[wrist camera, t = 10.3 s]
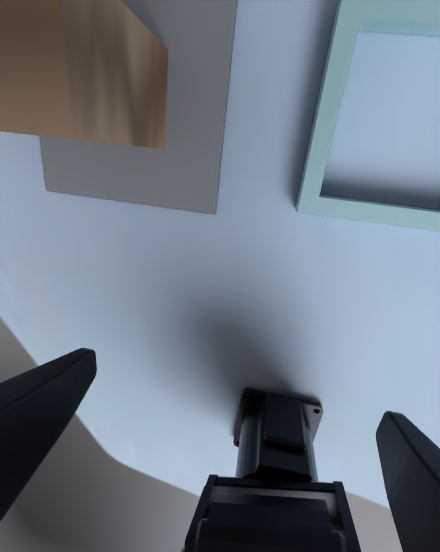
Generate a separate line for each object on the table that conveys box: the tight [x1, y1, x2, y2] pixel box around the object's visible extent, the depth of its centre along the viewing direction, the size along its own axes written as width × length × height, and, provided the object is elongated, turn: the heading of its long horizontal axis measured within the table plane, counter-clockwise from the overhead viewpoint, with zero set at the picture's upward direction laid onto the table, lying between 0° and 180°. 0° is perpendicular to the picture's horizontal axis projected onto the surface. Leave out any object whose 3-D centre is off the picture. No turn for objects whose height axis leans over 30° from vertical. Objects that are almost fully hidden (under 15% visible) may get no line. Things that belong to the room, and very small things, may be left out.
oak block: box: [0, 0, 168, 149], centre depth 13 cm, size 5×5×9 cm
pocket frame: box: [295, 0, 440, 232], centre depth 15 cm, size 10×10×2 cm
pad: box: [40, 0, 237, 215], centre depth 17 cm, size 12×12×1 cm
